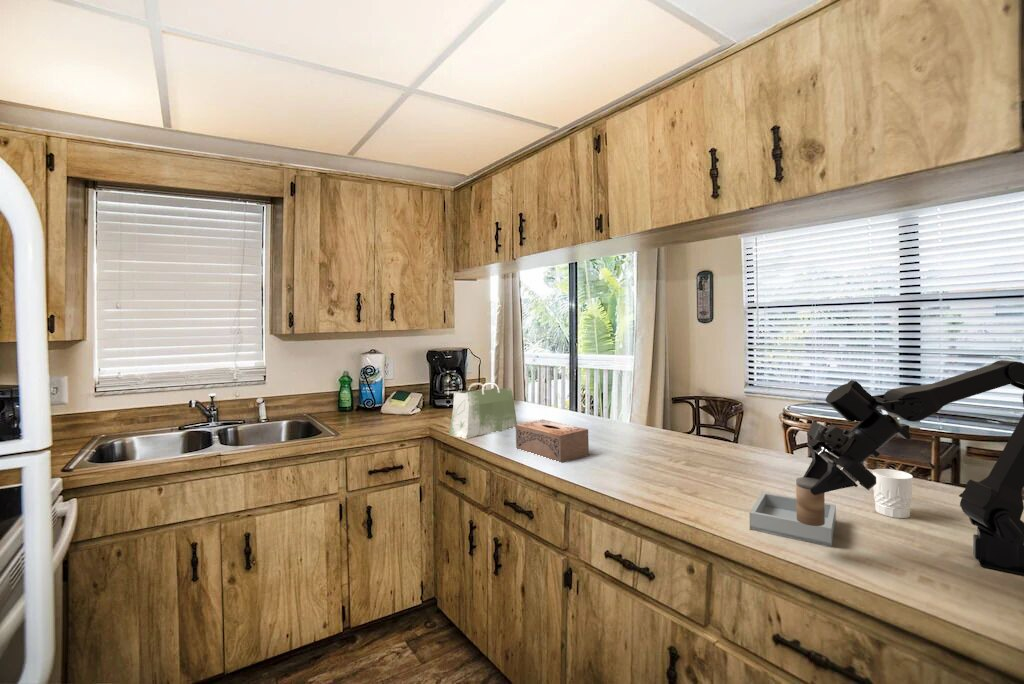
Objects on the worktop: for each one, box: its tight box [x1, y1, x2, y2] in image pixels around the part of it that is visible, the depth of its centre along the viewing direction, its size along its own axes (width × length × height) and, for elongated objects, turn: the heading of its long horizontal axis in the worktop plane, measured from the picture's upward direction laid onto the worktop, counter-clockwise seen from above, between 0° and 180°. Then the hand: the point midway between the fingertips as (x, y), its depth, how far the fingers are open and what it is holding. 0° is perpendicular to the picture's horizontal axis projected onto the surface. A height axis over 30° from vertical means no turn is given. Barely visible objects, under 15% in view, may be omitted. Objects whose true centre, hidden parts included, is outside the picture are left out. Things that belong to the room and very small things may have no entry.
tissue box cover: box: [515, 419, 590, 463], centre depth 184 cm, size 26×14×10 cm, turn 37°
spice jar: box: [795, 476, 826, 526], centre depth 100 cm, size 5×5×8 cm
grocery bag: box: [448, 382, 518, 440], centre depth 223 cm, size 32×14×23 cm, turn 134°
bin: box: [748, 491, 837, 548], centre depth 113 cm, size 16×16×4 cm
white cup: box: [871, 468, 914, 519], centre depth 118 cm, size 8×8×10 cm
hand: (807, 488), depth 100 cm, fingers closed on spice jar, 5 cm apart
